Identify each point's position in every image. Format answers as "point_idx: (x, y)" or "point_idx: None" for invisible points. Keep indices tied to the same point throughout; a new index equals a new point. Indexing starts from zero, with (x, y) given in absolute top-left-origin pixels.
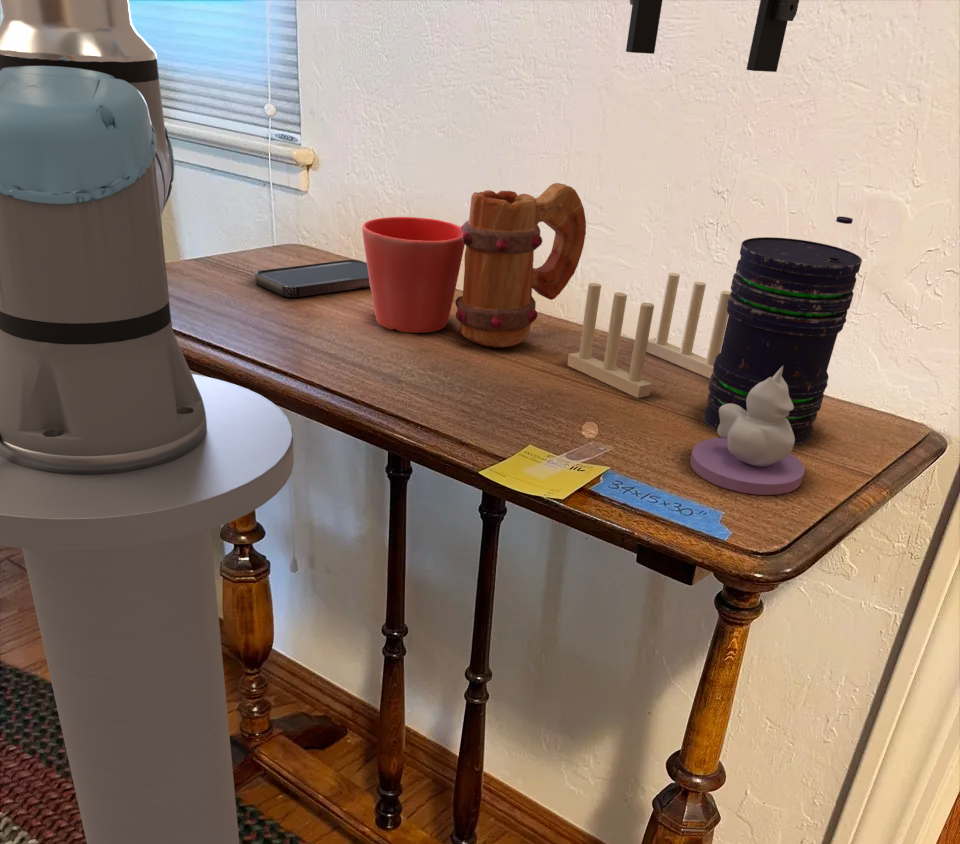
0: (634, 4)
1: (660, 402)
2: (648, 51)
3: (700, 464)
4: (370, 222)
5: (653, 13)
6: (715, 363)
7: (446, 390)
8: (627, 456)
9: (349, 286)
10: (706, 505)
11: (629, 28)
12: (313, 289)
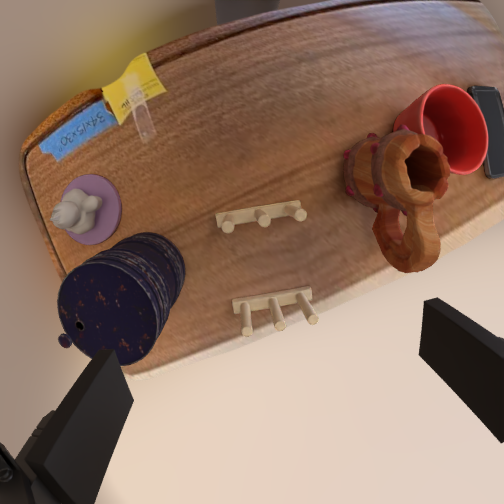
0: (482, 331)
1: (204, 226)
2: (421, 342)
3: (90, 174)
4: (476, 107)
5: (455, 372)
6: (157, 246)
7: (274, 80)
8: (129, 144)
9: None
10: (65, 156)
11: (459, 312)
12: None
